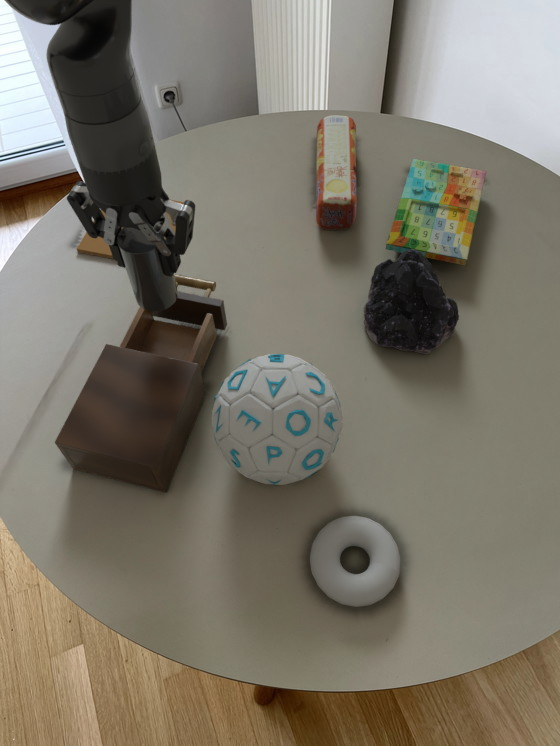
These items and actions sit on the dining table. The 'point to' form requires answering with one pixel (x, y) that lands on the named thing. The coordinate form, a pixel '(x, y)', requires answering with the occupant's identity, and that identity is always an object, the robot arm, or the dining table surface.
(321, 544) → the donut
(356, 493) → the dining table surface
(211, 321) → the drawer
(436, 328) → the crystal cluster
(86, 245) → the cork mat
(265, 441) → the puzzle ball
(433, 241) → the puzzle game
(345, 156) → the snack package
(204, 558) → the dining table surface
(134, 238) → the dark grey cylinder
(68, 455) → the cabinet
